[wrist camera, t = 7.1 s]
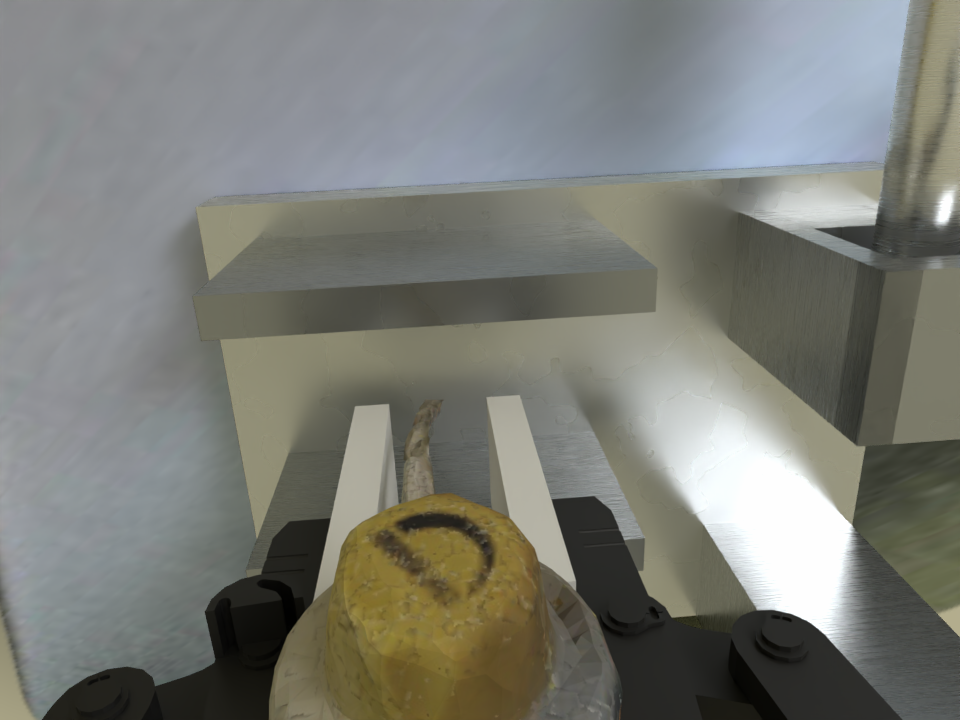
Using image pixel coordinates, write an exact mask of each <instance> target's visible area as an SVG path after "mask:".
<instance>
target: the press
mask: <svg viewBox="0 0 960 720" xmlns="http://www.w3.org/2000/svg"><path fill="white" fill-rule="evenodd" d="M883 170H884V163H878V162H857V163H839V164H820V165H801V166H783V167H764V168H745V169H727V170H708V171H689V172H671V173H652V174H633V175H615V176H596V177H577V178H559V179H540V180H521V181H503V182H484V183H465V184H447V185H428V186H409V187H391V188H372V189H353V190H335V191H316V192H297V193H279V194H260V195H241V196H223V197H214V198H212V199H210V200H208V201H206V202H204V203H203V204H201V205H199V206H197V207H196V212H197V217H198V223H199V228H200V234H201V239H202V245H203V250H204V255H205V261H206V266H207V272H208V277H209V282H208V283H207V284H205V285H204V286H203V287H202V288H201V289H200V290H199V291H198V292H197V293H196V294H195V295H193V296H192V297H193V302H194V307H195V312H196V317H197V322H198V327H199V333H200V338H201V341H208V340H220V342H221V348H222V353H223V359H224V364H225V370H226V375H227V380H228V386H229V391H230V397H231V402H232V408H233V413H234V418H235V424H236V429H237V435H238V440H239V446H240V451H241V456H242V462H243V467H244V473H245V478H246V484H247V489H248V494H249V500H250V505H251V511H252V516H253V522H254V527H255V532H256V538H257V540H256V543H255V546H254V549H253V551H252V554H251V557H250V559H249V562H248V565H247V568H246V574H247V578H248V577H252V576H256V575H261V572H262V569H263V566H264V563H265V561H266V557H267V554H268V551H269V548H270V545H271V542H272V539H273V537H274V536H275V535H276V534H277V533H278V532H279V531H280V530H281V529H282V528H283V527H284V526H285V525H286V524H287V523H288V522H289V521H300V520H313V519H326V518H331V516H332V511H333V507H334V502H335V498H336V493H337V488H338V484H339V479H340V474H341V470H342V465H343V460H344V456H345V451H346V446H347V442H348V437H349V432H350V428H351V423H352V419H353V414H354V409H355V406H367V405H381V404H389V409H390V419H391V429H392V440H393V450H394V460H395V471H396V481H397V491H398V501H399V504H401V503H402V502H401V497H402V488H403V471H404V464H405V462H406V461H403V458H404V448H405V441H406V438H407V436H408V434H409V432H410V431H411V429H412V428H413V427H414V426H415V425H414V426H412V425H413V422H414V419H415V416H416V414H417V413H418V412H419V407H420V406H421V405H422V404H423V403H424V401H425V399H433V400H443V401H442V405H441V408H440V411H439V413H437V416H436V419H435V421H433V422H432V423H431V427H430V430H429V433H428V437H429V438H430V441H429V456H430V458H431V463H432V467H433V477H434V484H435V492H436V494H443V493H453V494H455V495H457V496H460V497H462V498H465V499H467V500H469V501H472V502H474V503H477V504H479V505H482V506H485V507H488V508H490V509H492V504H491V491H490V468H489V445H488V422H487V399H486V397H497V396H512V395H520V398H521V401H522V404H523V408H524V411H525V414H526V418H527V421H528V424H529V427H530V431H531V434H532V437H533V441H534V444H535V447H536V451H537V454H538V457H539V460H540V464H541V467H542V470H543V474H544V477H545V480H546V484H547V487H548V490H549V493H550V497H551V499H562V498H575V497H588V496H595V497H596V498H597V499H598V500H600V501H601V502H602V503H603V504H604V505H606V506H607V507H608V508H609V509H611V511H612V513H613V515H614V517H615V520H616V522H617V524H618V527H619V531H621V533H622V536H623V538H624V540H625V545H627V547H628V550H629V552H630V554H631V556H632V559H633V561H634V563H635V566H636V568H637V570H638V572H639V575H640V577H641V579H642V582H643V584H644V586H645V589H646V591H647V593H648V595H649V596H650V597H653V598H654V599H655V600H657V601H658V602H659V603H661V604H662V605H663V606H665V607H666V609H667V611H668V612H669V614H670V616H671V618H672V617H684V616H697V618H698V620H699V622H700V624H701V626H702V628H703V629H705V630H712V631H718V632H725V633H731V634H732V626H733V624H734V623H735V622H736V621H737V620H738V618H739V617H740V616H742V615H744V614H747V613H750V612H752V611H755V610H776V611H781V612H785V613H790V614H793V615H795V616H797V617H800V618H802V619H804V620H806V621H808V622H810V623H811V624H813V625H814V626H815V627H816V628H817V629H819V630H820V631H821V632H822V633H824V634H825V635H826V637H827V638H828V639H829V640H830V641H831V642H832V643H833V644H834V645H835V646H836V647H837V649H838V650H839V651H840V652H841V653H842V654H843V655H844V656H845V657H846V658H847V659H848V661H849V662H850V663H851V664H852V665H853V666H854V667H855V668H856V669H857V670H858V672H859V673H860V674H861V675H862V676H863V677H864V678H865V679H866V680H867V681H868V682H869V684H870V685H871V686H872V687H873V688H874V689H875V690H876V691H877V692H878V693H879V694H880V696H881V697H882V698H883V699H884V700H885V701H886V702H887V703H888V704H889V705H890V707H891V708H892V709H893V710H894V711H895V712H896V713H897V714H898V715H899V716H900V717H901V719H902V720H960V637H959V636H958V635H957V634H956V633H955V632H954V631H953V630H952V629H951V628H950V627H949V626H948V625H947V624H946V622H945V621H944V620H943V619H942V618H941V617H940V616H939V615H938V614H937V613H936V612H935V611H934V610H933V609H932V608H931V607H930V606H929V605H928V604H927V603H926V602H925V601H924V600H923V599H922V598H921V597H920V596H919V595H918V594H917V592H916V591H915V590H914V589H913V588H912V587H911V586H910V585H909V584H908V583H907V582H906V581H905V580H904V579H903V578H902V577H901V576H900V575H899V574H898V573H897V572H896V571H895V570H894V569H893V568H892V567H891V566H890V565H889V564H888V562H887V561H886V560H885V559H884V558H883V557H882V556H881V555H880V554H879V553H878V552H877V551H876V550H875V549H874V548H873V547H872V546H871V545H870V544H869V543H868V542H867V541H866V540H865V539H864V538H863V537H862V536H861V535H860V533H859V532H858V531H857V530H856V529H855V528H854V527H853V526H852V522H853V516H854V510H855V504H856V498H857V493H858V487H859V481H860V475H861V469H862V463H863V457H864V451H865V446H874V445H887V444H900V443H914V442H927V441H941V440H954V439H960V252H959V255H948V256H931V257H915V258H898V259H894V258H891V257H888V256H886V255H883V254H880V253H878V252H875V251H872V250H871V247H872V241H873V235H874V228H875V222H876V215H877V209H878V202H879V196H880V189H881V183H882V176H883Z"/></svg>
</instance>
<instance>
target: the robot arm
mask: <svg viewBox="0 0 960 720" xmlns="http://www.w3.org/2000/svg"><path fill="white" fill-rule="evenodd" d="M486 399H487V422H488V445H489V468H490V491H491V504H492V510H495V511H497V512H499V513H501V514H504V515H506V516H508V517H509V518H510V519H512V521H513V522H514V523H515V524H516V526H517V527H518V528H519V529H520V531H521V532H522V533H523V534H524V536H525V537H526V538H527V539H528V541H529V542H530V543H531V544H532V546H533V547H534V548H535V551H536V554H537V558H538V561H539V562H541V563H543V564H544V565H546V566H548V567H549V568H551V569H552V570H553V571H554V572H556V573H557V574H558V575H559V576H561V577H562V578H563V579H564V580H566V581H567V582H568V583H569V584H570V585H571V586H572V588H573V589H574V590H575V591H576V592H577V593H578V594H579V595H580V596H581V597H582V599H583V600H584V601H585V603H586V604H587V605H588V606H589V608H590V609H591V610H592V611H593V613H594V614H595V615H596V617H597V619H598V622H599V624H600V627H601V630H602V632H603V635H604V638H605V640H606V643H607V646H608V648H609V651H610V654H611V656H612V659H613V661H614V664H615V666H616V669H617V671H618V674H619V676H620V681H621V686H622V693H623V697H622V703H621V709H620V720H902V719H901V717H900V716H899V715H898V714H897V713H896V712H895V711H894V710H893V709H892V708H891V707H890V705H889V704H888V703H887V702H886V701H885V700H884V699H883V698H882V697H881V696H880V694H879V693H878V692H877V691H876V690H875V689H874V688H873V687H872V686H871V685H870V684H869V682H868V681H867V680H866V679H865V678H864V677H863V676H862V675H861V674H860V673H859V672H858V670H857V669H856V668H855V667H854V666H853V665H852V664H851V663H850V662H849V661H848V659H847V658H846V657H845V656H844V655H843V654H842V653H841V652H840V651H839V650H838V649H837V647H836V646H835V645H834V644H833V643H832V642H831V641H830V640H829V639H828V638H827V637H826V635H825V634H824V633H822V632H821V631H820V630H819V629H817V628H816V627H815V626H814V625H813V624H811V623H810V622H808V621H806V620H804V619H802V618H800V617H797V616H795V615H793V614H790V613H785V612H781V611H776V610H755V611H752V612H750V613H747V614H744V615H742V616H740V617H739V618H738V620H737V621H736V622H735V623H734V624H733V626H732V634H731V633H725V632H718V631H712V630H705V629H700V628H696V627H691V626H687V625H685V624H682V623H680V622H677V621H675V620H673V619H672V618H671V616H670V614H669V612H668V611H667V609H666V607H665V606H663V605H662V604H661V603H659V602H658V601H657V600H655V599H654V598H653V597H650V596H649V595H648V593H647V591H646V589H645V586H644V584H643V582H642V579H641V577H640V575H639V572H638V570H637V568H636V566H635V563H634V561H633V559H632V556H631V554H630V552H629V550H628V547H627V545H625V540H624V538H623V536H622V533H621V531H619V527H618V524H617V522H616V520H615V517H614V515H613V513H612V511H611V509H609V508H608V507H607V506H606V505H604V504H603V503H602V502H601V501H600V500H598V499H597V498H596V497H595V496H588V497H575V498H562V499H551V497H550V493H549V490H548V487H547V484H546V480H545V477H544V474H543V470H542V467H541V464H540V460H539V457H538V454H537V451H536V447H535V444H534V441H533V437H532V434H531V431H530V427H529V424H528V421H527V418H526V414H525V411H524V408H523V404H522V401H521V398H520V395H512V396H497V397H486ZM398 504H399V501H398V491H397V481H396V471H395V460H394V450H393V440H392V429H391V419H390V409H389V404H381V405H367V406H355V409H354V414H353V419H352V423H351V428H350V432H349V437H348V442H347V446H346V451H345V456H344V460H343V465H342V470H341V474H340V479H339V484H338V488H337V493H336V498H335V502H334V507H333V511H332V516H331V518H326V519H313V520H300V521H289V522H288V523H287V524H286V525H285V526H284V527H283V528H282V529H281V530H280V531H279V532H278V533H277V534H276V535H275V536H274V537H273V539H272V542H271V545H270V548H269V551H268V554H267V557H266V561H265V563H264V566H263V569H262V572H261V575H256V576H252V577H248V578H244V579H241V580H239V581H237V582H235V583H233V584H231V585H229V586H227V587H225V588H224V589H223V590H221V591H220V592H219V593H218V594H217V595H216V596H215V597H214V598H212V599H211V601H210V603H209V605H208V607H207V609H206V611H205V615H206V619H207V623H208V628H209V632H210V637H211V641H212V646H213V650H214V655H215V663H214V664H212V665H210V666H209V667H207V668H205V669H203V670H201V671H199V672H196V673H194V674H191V675H189V676H186V677H183V678H180V679H177V680H174V681H171V682H168V683H165V684H162V685H158V686H155V685H154V681H153V678H152V677H151V676H150V675H149V674H147V673H146V672H145V671H144V670H142V669H137V668H131V667H121V668H114V669H107V670H105V671H102V672H99V673H97V674H94V675H92V676H89V677H87V678H85V679H84V680H82V681H80V682H79V683H77V684H76V685H74V686H73V687H71V688H69V689H68V690H67V691H66V692H65V693H64V694H63V695H62V696H61V697H60V698H59V699H58V700H57V701H56V702H55V703H54V704H53V706H52V707H51V708H50V710H49V711H48V712H47V714H46V715H45V716H44V718H43V719H42V720H269V699H270V694H271V688H272V682H273V676H274V669H275V666H276V664H277V661H278V658H279V656H280V653H281V651H282V648H283V645H284V643H285V640H286V638H287V635H288V634H289V633H290V631H291V630H292V628H293V627H294V626H295V624H296V623H297V621H298V620H299V619H300V617H301V616H302V615H303V613H304V612H305V611H306V610H307V609H308V607H309V606H310V605H311V604H312V603H313V602H314V601H315V600H316V598H317V597H319V596H320V595H321V594H322V593H323V592H324V591H325V590H327V589H328V588H329V587H330V586H331V585H332V584H333V583H334V578H335V573H336V569H337V565H338V561H339V555H340V550H341V546H342V544H343V543H344V541H345V539H346V537H347V536H348V534H349V532H350V531H351V530H352V529H354V528H355V527H356V526H357V525H359V524H360V523H361V522H363V521H365V520H367V519H369V518H370V517H372V516H374V515H376V514H378V513H380V512H382V511H384V510H386V509H388V508H390V507H393V506H395V505H398Z"/></svg>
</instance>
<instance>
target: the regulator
mask: <svg viewBox="0 0 960 720" xmlns="http://www.w3.org/2000/svg"><path fill="white" fill-rule="evenodd" d="M442 401H443V400H433V399H425V401H424V403H423V404H422V405H421V406H420V407H419V412H418V413H417V414H416V416H415V419H414V422H413V425H412V426H414V425H415V426H414V427H413V428H412V429H411V431H410V432H409V434H408V436H407V438H406V441H405V448H404V458H403V461H406V462H405V464H404V471H403V488H402V497H401V502H402V503H401V504H398V505H395V506H393V507H390V508H388V509H386V510H384V511H382V512H380V513H378V514H376V515H374V516H372V517H370V518H369V519H367V520H365V521H363V522H361V523H360V524H359V525H357V526H356V527H355V528H354V529H352V530H351V531H350V532H349V534H348V536H347V537H346V539H345V541H344V543H343V544H342V546H341V550H340V555H339V561H338V565H337V569H336V573H335V578H334V583H333V584H332V585H331V586H330V587H329V588H328V589H327V590H325V591H324V592H323V593H322V594H321V595H320V596H319V597H317V598H316V600H315V601H314V602H313V603H312V604H311V605H310V606H309V607H308V609H307V610H306V611H305V612H304V613H303V615H302V616H301V617H300V619H299V620H298V621H297V623H296V624H295V626H294V627H293V628H292V630H291V631H290V633H289V634H288V635H287V638H286V640H285V643H284V645H283V648H282V651H281V653H280V656H279V658H278V661H277V664H276V666H275V669H274V676H273V682H272V688H271V694H270V699H269V720H620V709H621V703H622V697H623V693H622V686H621V681H620V676H619V674H618V671H617V669H616V666H615V664H614V661H613V659H612V656H611V654H610V651H609V648H608V646H607V643H606V640H605V638H604V635H603V632H602V630H601V627H600V624H599V622H598V619H597V617H596V615H595V614H594V613H593V611H592V610H591V609H590V608H589V606H588V605H587V604H586V603H585V601H584V600H583V599H582V597H581V596H580V595H579V594H578V593H577V592H576V591H575V590H574V589H573V588H572V586H571V585H570V584H569V583H568V582H567V581H566V580H564V579H563V578H562V577H561V576H559V575H558V574H557V573H556V572H554V571H553V570H552V569H551V568H549V567H548V566H546V565H544V564H543V563H541V562H539V561H538V558H537V554H536V551H535V548H534V547H533V546H532V544H531V543H530V542H529V541H528V539H527V538H526V537H525V536H524V534H523V533H522V532H521V531H520V529H519V528H518V527H517V526H516V524H515V523H514V522H513V521H512V519H510V518H509V517H508V516H506V515H504V514H501V513H499V512H497V511H495V510H492V509H490V508H488V507H485V506H482V505H479V504H477V503H474V502H472V501H469V500H467V499H465V498H462V497H460V496H457V495H455V494H453V493H443V494H436V492H435V484H434V477H433V467H432V463H431V458H430V456H429V441H430V438H429V437H428V433H429V430H430V427H431V423H432V422H433V421H435V419H436V416H437V413H439V411H440V408H441V405H442Z"/></svg>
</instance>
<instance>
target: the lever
mask: <svg viewBox="0 0 960 720" xmlns="http://www.w3.org/2000/svg"><path fill="white" fill-rule="evenodd" d="M871 250H872V251H875V252H878V253H880V254H883V255H886V256H888V257H891V258H894V259H898V258H915V257H931V256H948V255H959V252H960V0H910V2H909V9H908V15H907V22H906V28H905V34H904V41H903V47H902V54H901V60H900V67H899V73H898V80H897V86H896V93H895V99H894V105H893V112H892V118H891V125H890V131H889V138H888V144H887V151H886V157H885V164H884V170H883V176H882V183H881V189H880V196H879V202H878V209H877V215H876V222H875V228H874V235H873V241H872V247H871Z"/></svg>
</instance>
